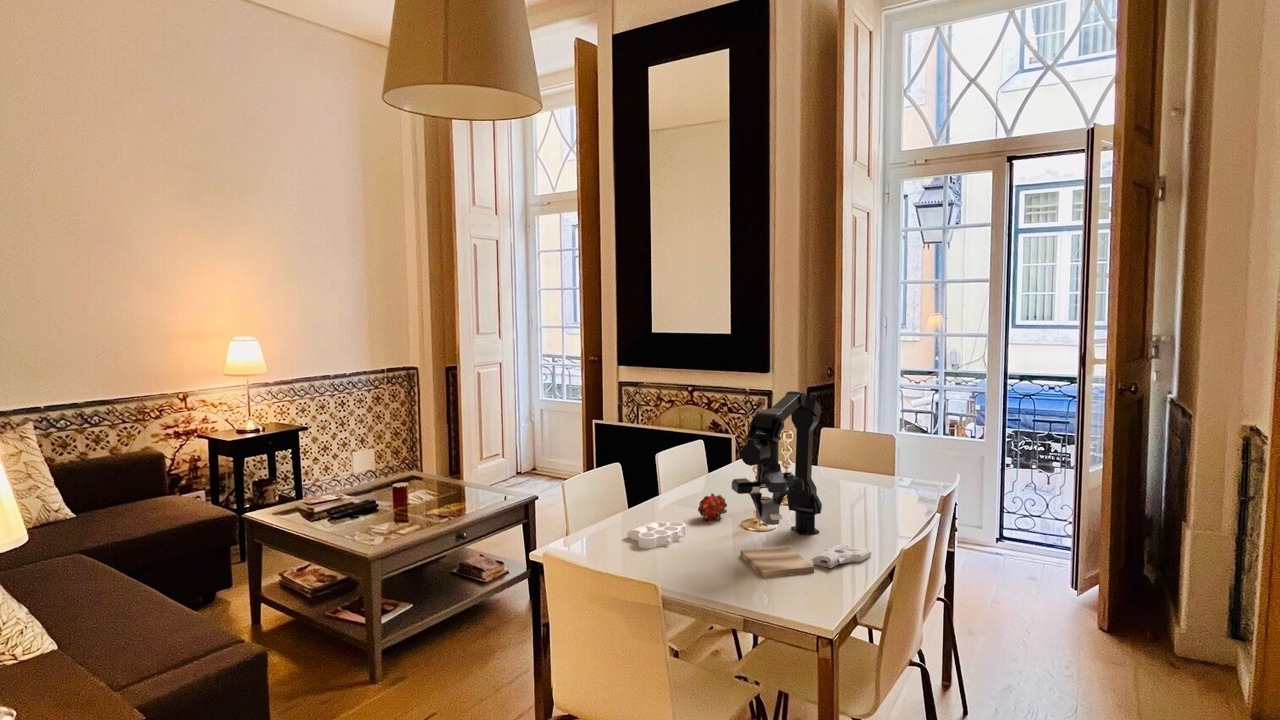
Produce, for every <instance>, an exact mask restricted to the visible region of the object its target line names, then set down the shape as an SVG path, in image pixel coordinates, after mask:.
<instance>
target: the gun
mask: <svg viewBox="0 0 1280 720" xmlns="http://www.w3.org/2000/svg"><path fill="white" fill-rule="evenodd" d="M871 556H872V551H871V550H870V549H869V548H866V547H863V548H861V549H860V548H853V547H848V545H846V544H844V543H843V544H842V543H841V544H837V545H835V546H833V547H830V548H828V549H825V552H821V554H819V555H816V556H814V557H813V558H811V561H812V563H813V564H814V565H817V566H821V567H824V568H830V569H832V568H834V567H836V566H838V565H840V564H848V563H861V562H863V561H864V560H866V559H868V558H870V557H871Z"/></svg>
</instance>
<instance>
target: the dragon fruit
mask: <svg viewBox="0 0 1280 720" xmlns="http://www.w3.org/2000/svg"><path fill="white" fill-rule="evenodd" d="M727 507H728V504H727V503H726V499H725V497H723V496H722V494H717V495H715V494H714V493H710V495H705V496H704V497H703V498H702V499H701V500H700V502H699V507H698V508H697V512H698V513H699V514H700V516H701V517H703V518H702V520H703V521H704V520H705V521H709V520H708V519H710V520H711V519H715V520H716V519H717V520H716V521H718V520H719V519H721V517H722V516H721V515H722V514H723V515H725V514H726V513H727V512H728V509H726V508H727Z"/></svg>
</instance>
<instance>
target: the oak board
mask: <svg viewBox="0 0 1280 720" xmlns="http://www.w3.org/2000/svg"><path fill="white" fill-rule="evenodd" d="M739 554H740V557H741V558H742V559H744V561H745V562H746V563H747V564H748V565H749V566H750V567H751V568H752V569H753V570H754V571H756V573H757V574H759V576H760V577H762V578H763V579H766V578H767V579H768V578H775V577H783V576H784V575H785V576H791V575H790V574H794V575H801V574H800V573H803V574H809V573H811V574H812V573H815V566H814V565H813V564H811V562H809V561H808V560H807V559H806V558H805V557H803V556H802V555H800V553H798V552H797V551H796V550H794V549H793V548H791V546H789V545H781V546H769V547H768V546H767V547H761V548H759V547H758V548H753V549H752V548H750V549H742V550H740V552H739Z"/></svg>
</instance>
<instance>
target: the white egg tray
mask: <svg viewBox="0 0 1280 720" xmlns="http://www.w3.org/2000/svg"><path fill="white" fill-rule="evenodd" d="M626 535H627V537H628V538H629V539H630V538H631V539H630V540H633V539H634V541H637V542H638V547H639V546H640V547H639V548H642V549H648V548H650V549H655V548H657V547H661V546H668V545H671V544H672V543H676V542H679V541H680V540H681V539H682V538H685V536H686V535H687V525H686V523H684V522H682V521H669V522H668V521H667V522H666V521H665V522H664V521H661V520H654V521H652V522H651V523H650V522H649V523H647V524H644V525H641V526H639V527H637V528H632V529H630V530H628V531H627V533H626Z"/></svg>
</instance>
